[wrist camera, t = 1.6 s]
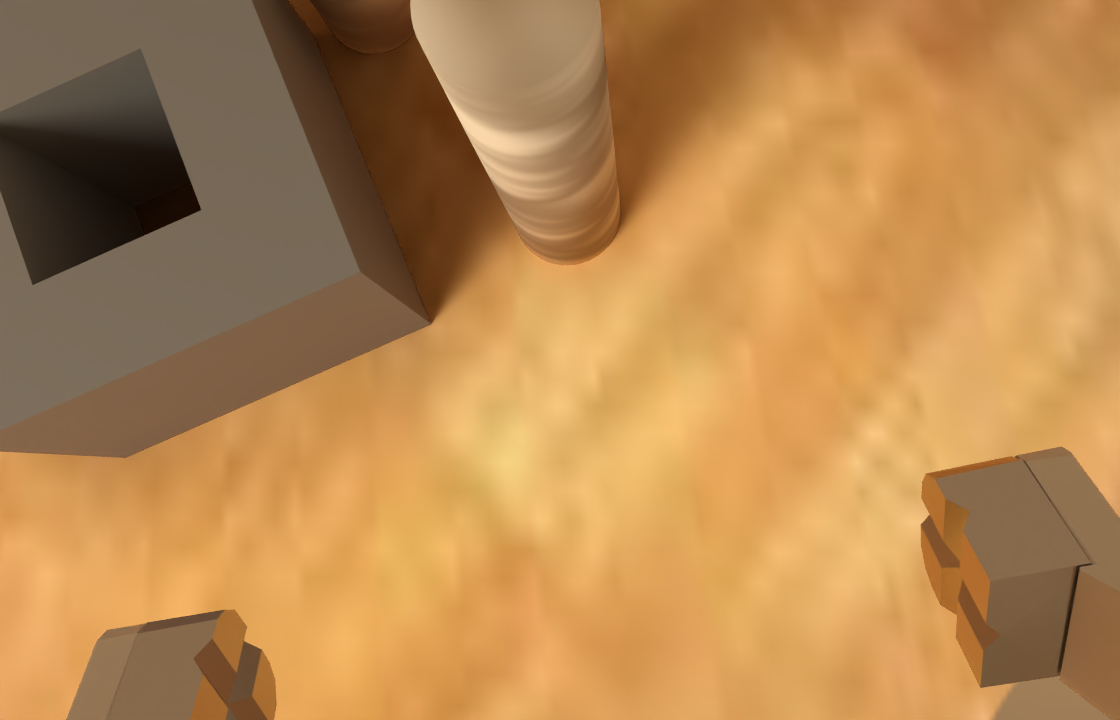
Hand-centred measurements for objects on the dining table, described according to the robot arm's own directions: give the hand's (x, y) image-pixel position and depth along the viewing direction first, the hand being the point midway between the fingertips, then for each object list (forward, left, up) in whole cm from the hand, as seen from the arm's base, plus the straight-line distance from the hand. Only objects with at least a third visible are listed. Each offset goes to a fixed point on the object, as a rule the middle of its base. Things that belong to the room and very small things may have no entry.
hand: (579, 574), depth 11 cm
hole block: (-11, +17, -27) cm, 34 cm away
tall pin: (+3, +12, -27) cm, 30 cm away
